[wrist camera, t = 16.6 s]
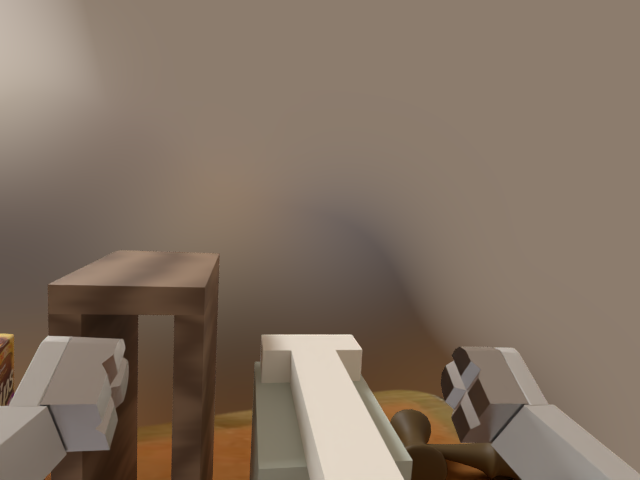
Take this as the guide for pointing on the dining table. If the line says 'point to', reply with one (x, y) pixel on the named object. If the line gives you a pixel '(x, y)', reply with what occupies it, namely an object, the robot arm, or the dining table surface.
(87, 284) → the tall stand
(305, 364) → the T-piece
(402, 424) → the kendama
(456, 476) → the dining table surface
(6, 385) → the candy box
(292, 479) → the pale green rectangular block
